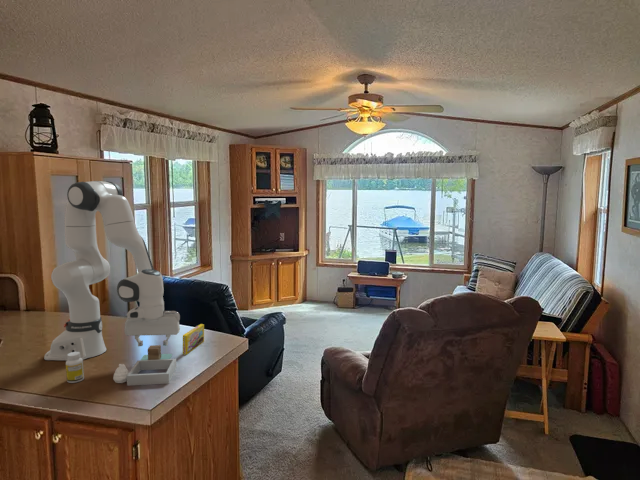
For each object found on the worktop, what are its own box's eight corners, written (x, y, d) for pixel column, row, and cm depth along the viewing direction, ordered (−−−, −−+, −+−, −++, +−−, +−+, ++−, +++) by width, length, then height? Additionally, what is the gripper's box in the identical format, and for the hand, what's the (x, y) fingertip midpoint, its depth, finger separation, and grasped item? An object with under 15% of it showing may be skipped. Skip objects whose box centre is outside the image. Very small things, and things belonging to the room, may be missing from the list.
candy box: (187, 355, 186) (186, 335, 185) (182, 354, 187) (181, 335, 186) (204, 342, 202) (204, 323, 201) (200, 341, 202) (199, 323, 201)
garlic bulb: (131, 361, 164) (125, 367, 159) (132, 377, 165) (126, 383, 159) (116, 361, 164) (109, 367, 159) (117, 377, 165) (110, 383, 159)
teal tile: (136, 367, 173) (136, 365, 173) (144, 356, 184) (144, 354, 184) (166, 366, 175) (166, 364, 175) (172, 355, 185) (172, 353, 185)
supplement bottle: (71, 377, 165) (69, 351, 163) (86, 376, 165) (85, 350, 164) (64, 383, 159) (62, 356, 158) (80, 383, 160) (78, 356, 158)
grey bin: (127, 385, 158) (126, 375, 157) (138, 369, 171) (137, 360, 171) (169, 383, 159) (168, 373, 159) (176, 367, 173) (176, 358, 173)
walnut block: (150, 357, 181) (150, 345, 180) (161, 357, 181) (160, 345, 181) (148, 361, 177) (147, 349, 176) (158, 361, 177) (158, 348, 177)
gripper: (181, 308, 181) (181, 342, 183) (127, 309, 179) (128, 343, 181) (178, 313, 175) (178, 347, 177) (122, 313, 173) (123, 349, 174)
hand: (153, 345), depth 179 cm, fingers open, 8 cm apart
